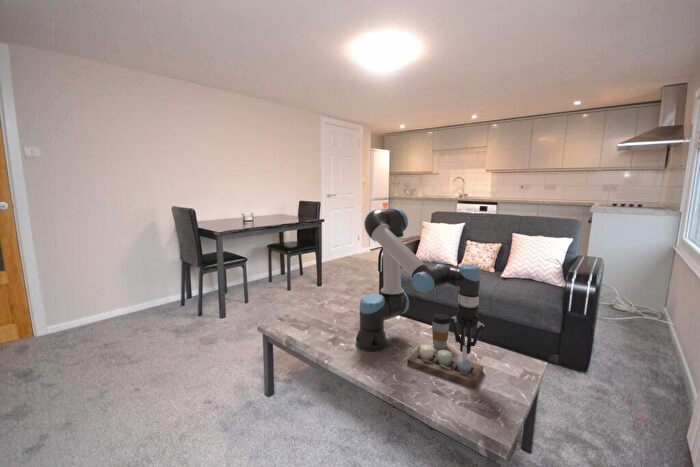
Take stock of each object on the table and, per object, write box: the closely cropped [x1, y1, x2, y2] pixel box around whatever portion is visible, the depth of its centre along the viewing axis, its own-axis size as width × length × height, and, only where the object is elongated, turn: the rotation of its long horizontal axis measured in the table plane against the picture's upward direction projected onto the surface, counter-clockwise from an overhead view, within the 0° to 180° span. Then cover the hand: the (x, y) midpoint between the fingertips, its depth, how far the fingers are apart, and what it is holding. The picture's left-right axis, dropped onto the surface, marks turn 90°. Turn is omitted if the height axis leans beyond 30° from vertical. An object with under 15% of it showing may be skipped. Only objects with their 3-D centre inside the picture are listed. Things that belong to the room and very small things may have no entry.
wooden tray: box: [406, 346, 484, 389], centre depth 136 cm, size 28×13×2 cm, turn 56°
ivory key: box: [419, 344, 434, 361], centre depth 140 cm, size 6×6×4 cm
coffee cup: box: [431, 312, 451, 350], centre depth 153 cm, size 8×8×15 cm
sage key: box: [437, 349, 453, 367], centre depth 135 cm, size 6×6×4 cm
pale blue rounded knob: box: [456, 356, 473, 374], centre depth 131 cm, size 6×6×4 cm
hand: (464, 359), depth 130 cm, fingers closed
